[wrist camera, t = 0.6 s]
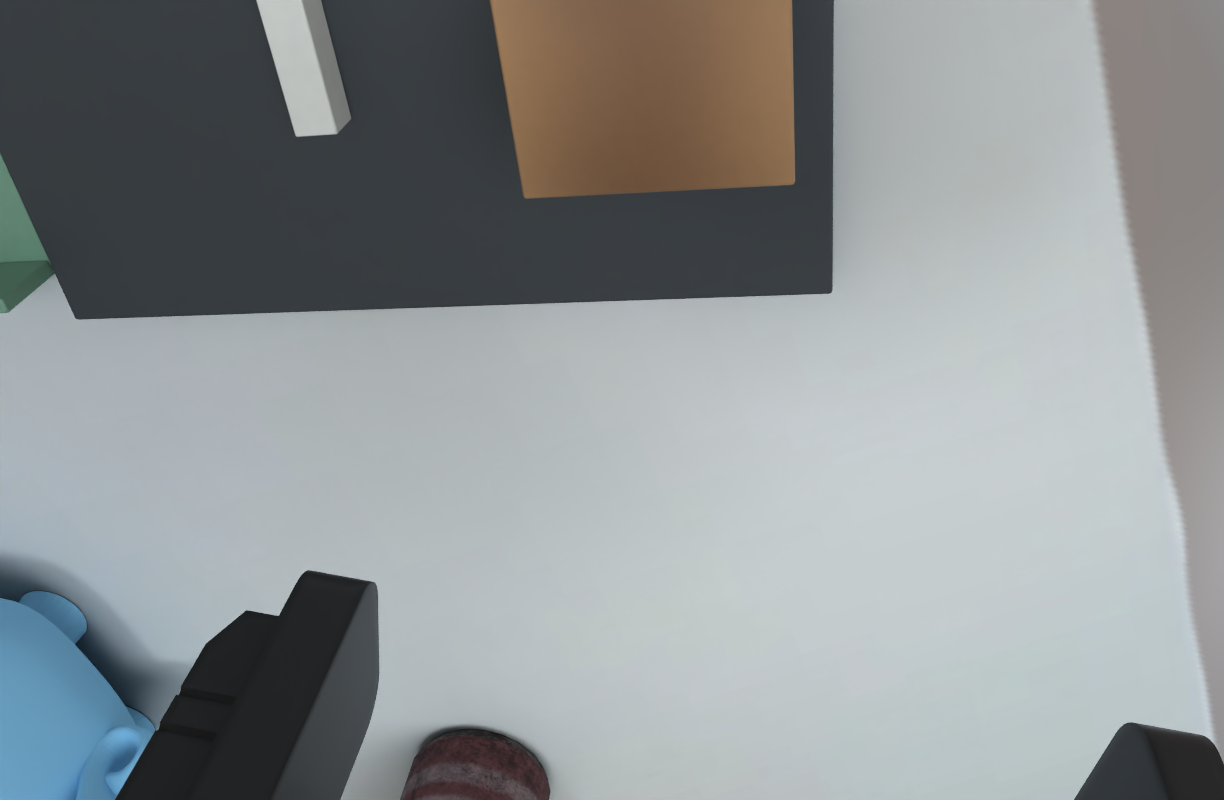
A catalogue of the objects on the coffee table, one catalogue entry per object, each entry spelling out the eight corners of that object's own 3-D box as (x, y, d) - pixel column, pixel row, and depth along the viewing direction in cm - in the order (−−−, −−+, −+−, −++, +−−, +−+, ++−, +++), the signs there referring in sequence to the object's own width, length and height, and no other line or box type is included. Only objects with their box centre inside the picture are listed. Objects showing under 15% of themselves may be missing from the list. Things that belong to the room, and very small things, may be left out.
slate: (833, -405, 22) (835, -407, 21) (831, 281, 31) (832, 294, 30) (-165, -260, 26) (-190, -257, 25) (88, 308, 35) (74, 320, 34)
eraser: (789, -92, 25) (791, -35, 20) (793, 99, 27) (795, 186, 23) (538, -67, 26) (486, -9, 21) (564, 113, 28) (522, 200, 24)
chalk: (312, -35, 27) (295, -23, 26) (352, 118, 29) (337, 134, 28) (268, -31, 27) (249, -19, 26) (311, 121, 29) (295, 137, 28)
